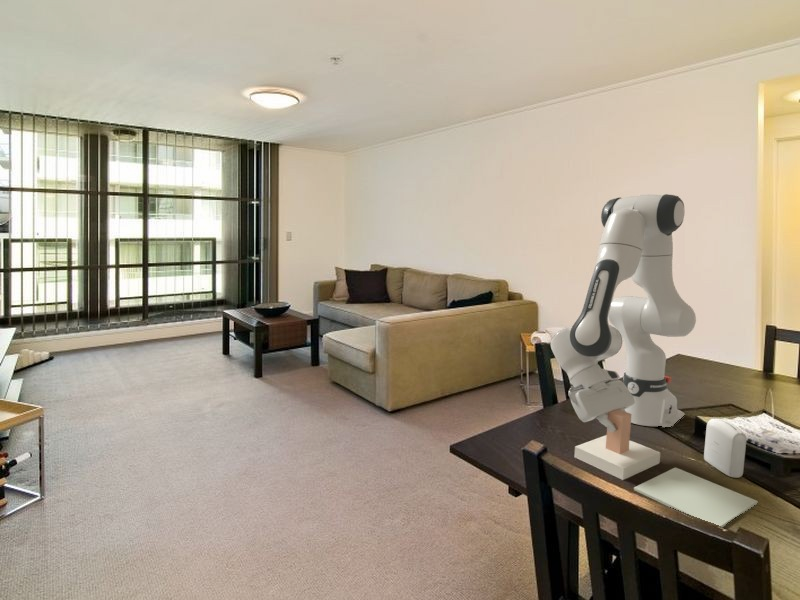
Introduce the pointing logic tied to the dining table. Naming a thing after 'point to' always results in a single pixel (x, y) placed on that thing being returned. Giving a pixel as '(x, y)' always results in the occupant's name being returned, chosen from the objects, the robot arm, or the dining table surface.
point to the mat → (696, 496)
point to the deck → (617, 458)
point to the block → (619, 432)
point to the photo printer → (725, 447)
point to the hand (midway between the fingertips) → (621, 428)
